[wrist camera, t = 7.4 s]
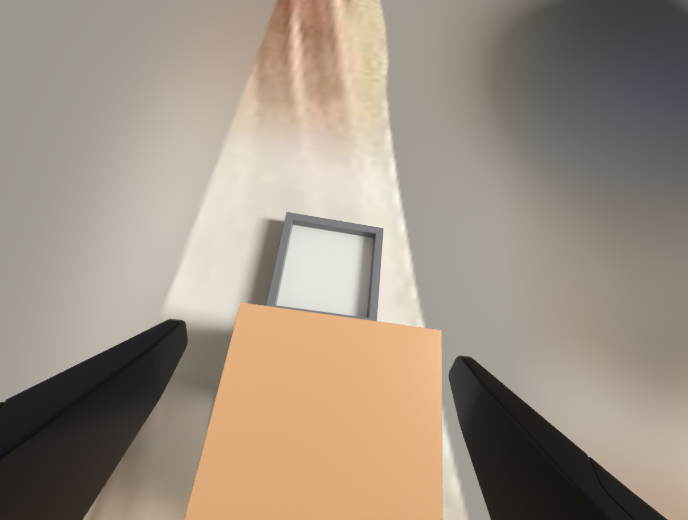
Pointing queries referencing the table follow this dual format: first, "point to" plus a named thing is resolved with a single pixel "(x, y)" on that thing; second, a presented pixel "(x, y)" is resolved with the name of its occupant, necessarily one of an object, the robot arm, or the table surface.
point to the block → (323, 421)
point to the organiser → (327, 267)
